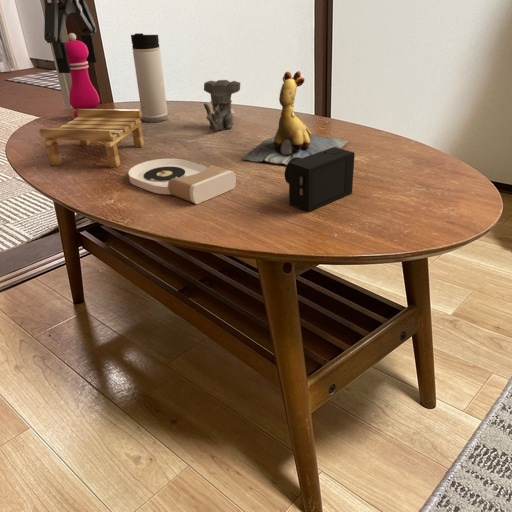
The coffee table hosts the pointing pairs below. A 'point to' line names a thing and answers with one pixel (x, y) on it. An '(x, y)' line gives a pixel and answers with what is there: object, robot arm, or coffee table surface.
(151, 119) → the travel mug
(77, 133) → the rack
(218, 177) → the record player
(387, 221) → the coffee table surface
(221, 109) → the grey flared upright piece
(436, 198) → the coffee table surface
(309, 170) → the digital camera
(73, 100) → the pepper mill
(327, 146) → the stuffed giraffe
